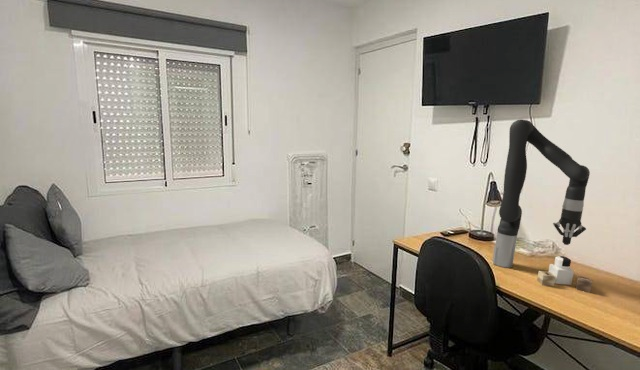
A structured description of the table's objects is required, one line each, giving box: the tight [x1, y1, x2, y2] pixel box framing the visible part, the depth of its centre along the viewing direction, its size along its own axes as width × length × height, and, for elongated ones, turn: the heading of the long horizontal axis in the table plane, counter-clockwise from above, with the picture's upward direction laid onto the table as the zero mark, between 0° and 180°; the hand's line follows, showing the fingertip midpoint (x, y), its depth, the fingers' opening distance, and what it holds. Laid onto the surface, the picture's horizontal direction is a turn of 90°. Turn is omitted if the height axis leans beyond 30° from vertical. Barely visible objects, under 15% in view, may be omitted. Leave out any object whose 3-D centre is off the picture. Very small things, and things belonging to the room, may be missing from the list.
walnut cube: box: [575, 275, 593, 294], centre depth 153 cm, size 5×5×5 cm
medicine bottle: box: [547, 255, 575, 286], centre depth 160 cm, size 7×7×12 cm
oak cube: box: [536, 270, 555, 287], centre depth 158 cm, size 5×5×5 cm
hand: (565, 244), depth 158 cm, fingers closed
